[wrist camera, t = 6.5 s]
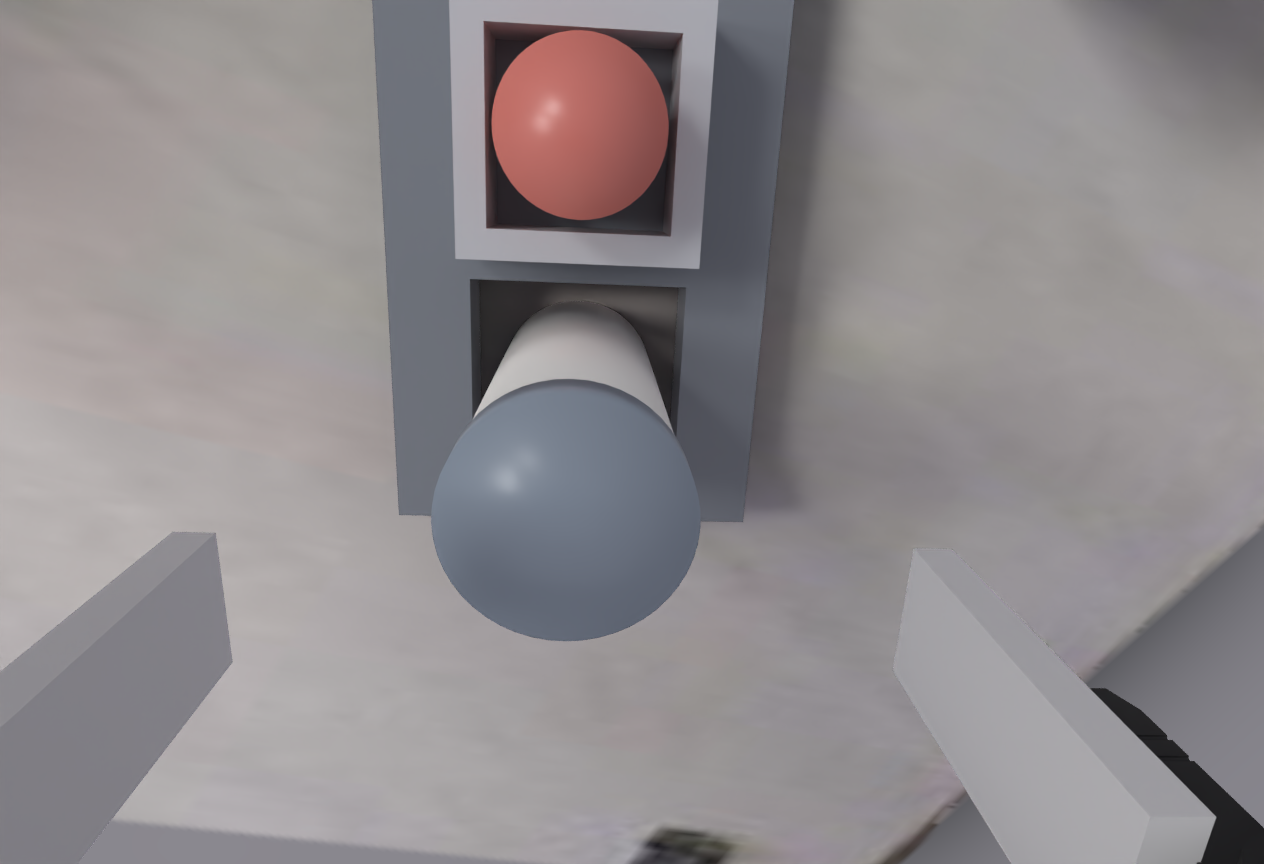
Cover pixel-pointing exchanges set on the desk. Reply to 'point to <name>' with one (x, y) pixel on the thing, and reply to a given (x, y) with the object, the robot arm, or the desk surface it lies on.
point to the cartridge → (568, 484)
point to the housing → (579, 249)
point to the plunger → (580, 125)
